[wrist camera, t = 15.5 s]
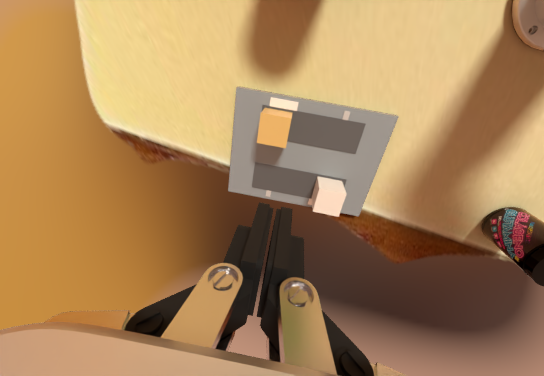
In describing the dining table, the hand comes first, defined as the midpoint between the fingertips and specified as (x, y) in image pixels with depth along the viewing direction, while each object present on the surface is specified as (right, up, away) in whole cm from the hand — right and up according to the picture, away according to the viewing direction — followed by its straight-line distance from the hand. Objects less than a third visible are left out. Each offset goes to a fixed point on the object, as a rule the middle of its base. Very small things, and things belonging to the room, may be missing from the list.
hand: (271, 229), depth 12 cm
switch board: (+5, +7, +26) cm, 28 cm away
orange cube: (+1, +12, +23) cm, 26 cm away
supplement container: (+39, -4, +28) cm, 48 cm away
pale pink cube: (+9, +2, +27) cm, 28 cm away
